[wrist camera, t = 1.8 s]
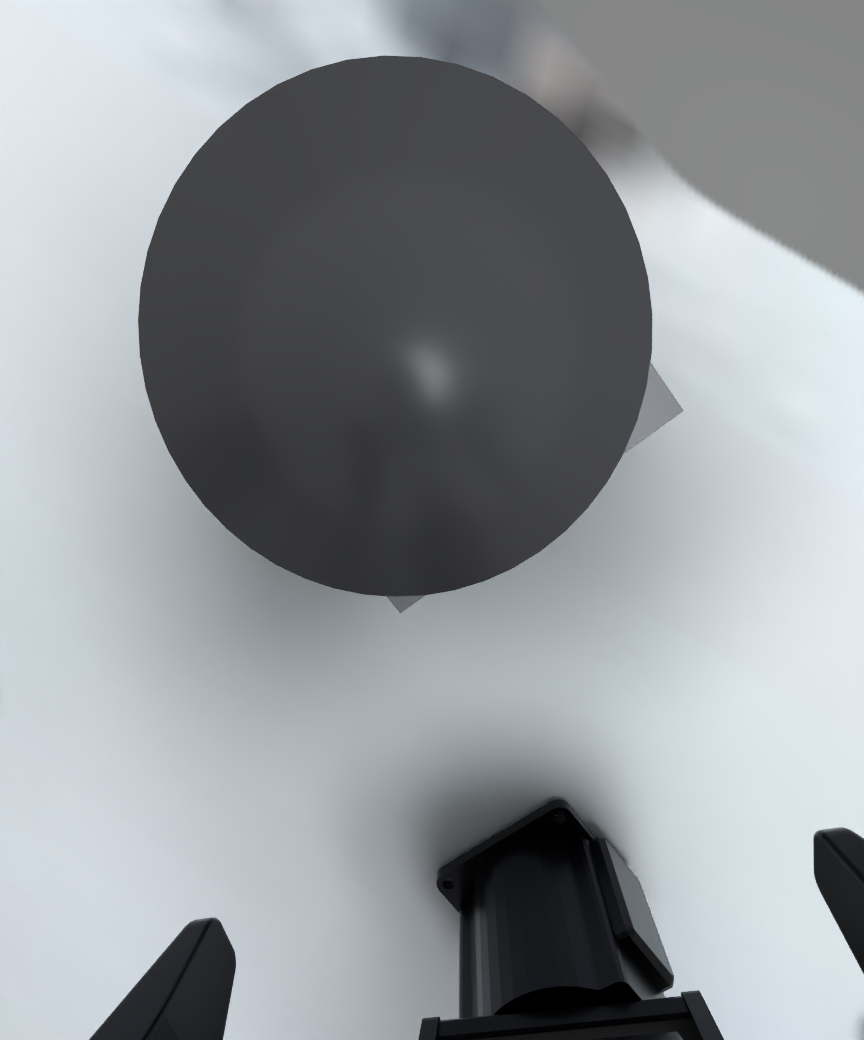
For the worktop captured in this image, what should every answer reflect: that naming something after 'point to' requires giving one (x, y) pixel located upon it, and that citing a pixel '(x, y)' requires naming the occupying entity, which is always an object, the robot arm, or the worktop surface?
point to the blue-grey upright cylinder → (395, 326)
